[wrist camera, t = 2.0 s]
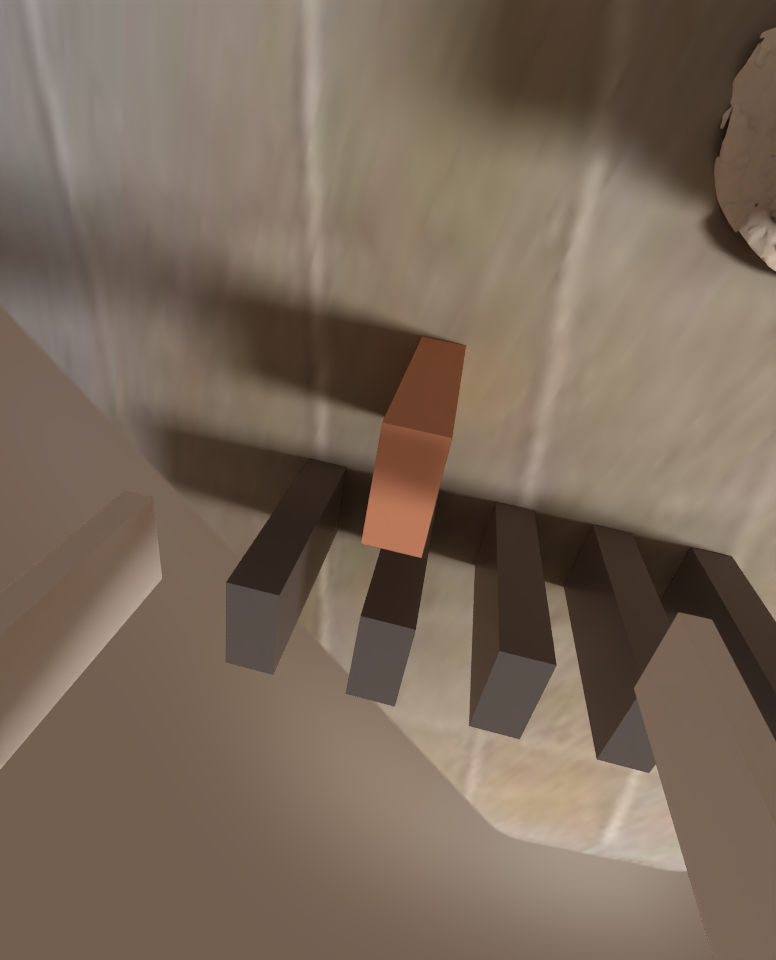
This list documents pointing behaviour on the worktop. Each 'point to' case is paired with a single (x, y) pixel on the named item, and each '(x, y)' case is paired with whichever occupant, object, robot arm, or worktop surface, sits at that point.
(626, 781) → the worktop surface
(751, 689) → the domino
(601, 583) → the domino
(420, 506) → the domino
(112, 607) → the robot arm
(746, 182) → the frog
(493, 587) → the domino
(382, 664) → the domino
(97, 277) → the worktop surface
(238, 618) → the domino
